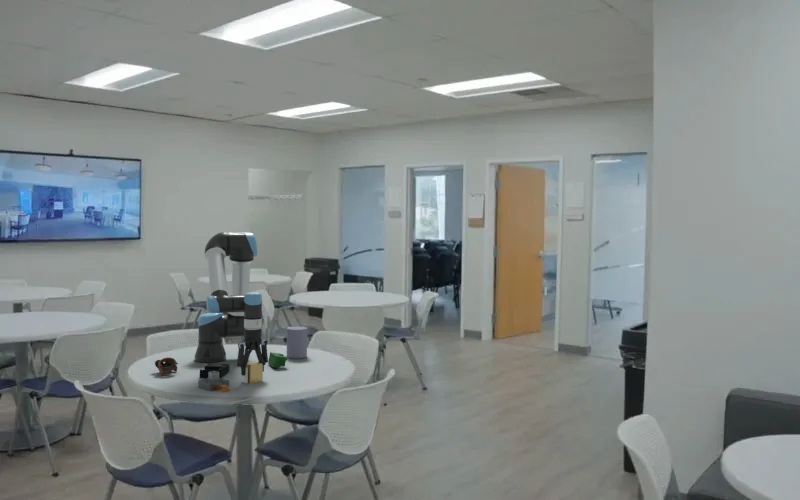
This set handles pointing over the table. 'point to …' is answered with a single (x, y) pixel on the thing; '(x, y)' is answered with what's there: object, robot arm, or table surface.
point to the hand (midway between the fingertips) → (252, 381)
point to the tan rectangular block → (254, 372)
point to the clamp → (277, 360)
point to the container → (296, 342)
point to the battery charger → (221, 368)
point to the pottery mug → (166, 365)
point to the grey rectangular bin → (214, 382)
